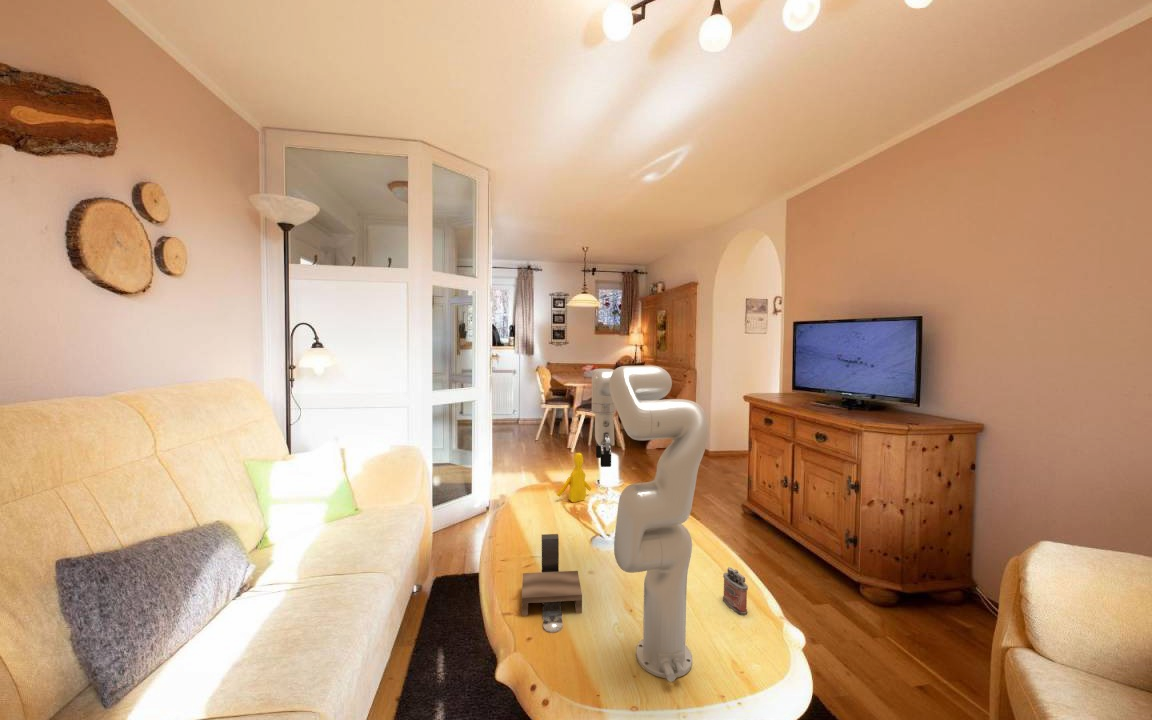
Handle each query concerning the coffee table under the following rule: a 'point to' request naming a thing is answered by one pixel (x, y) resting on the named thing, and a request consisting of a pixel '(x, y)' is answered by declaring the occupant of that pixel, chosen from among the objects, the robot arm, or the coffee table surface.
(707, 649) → the coffee table surface
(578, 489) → the figure statuette
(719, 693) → the coffee table surface
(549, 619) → the steel token
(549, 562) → the pusher tool
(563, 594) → the low table
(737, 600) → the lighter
